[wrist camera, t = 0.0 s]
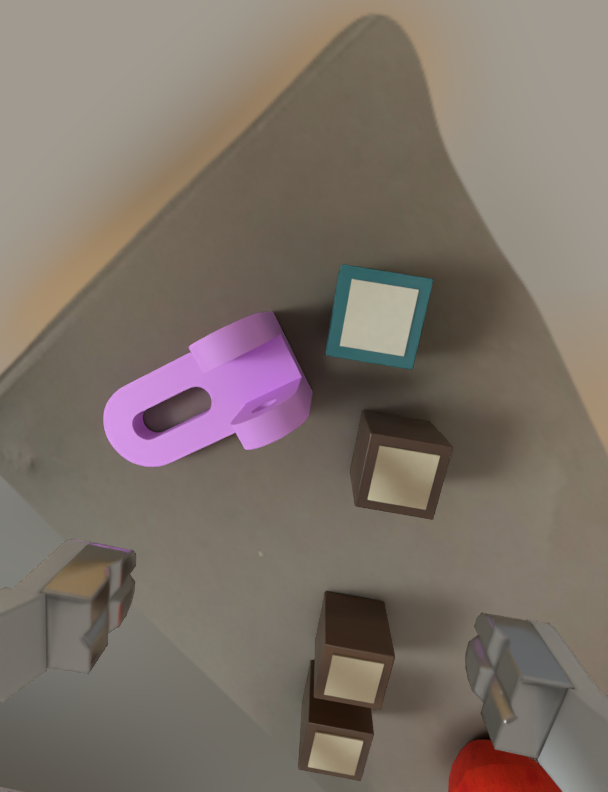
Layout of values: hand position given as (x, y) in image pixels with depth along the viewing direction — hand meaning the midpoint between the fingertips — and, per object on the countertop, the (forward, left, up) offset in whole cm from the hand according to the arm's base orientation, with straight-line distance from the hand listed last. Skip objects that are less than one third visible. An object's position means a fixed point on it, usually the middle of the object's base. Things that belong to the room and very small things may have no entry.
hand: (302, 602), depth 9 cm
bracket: (0, -7, -16) cm, 17 cm away
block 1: (+15, +5, -16) cm, 22 cm away
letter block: (-7, +2, -16) cm, 17 cm away
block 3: (+1, +5, -16) cm, 16 cm away
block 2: (+22, +5, -16) cm, 27 cm away
